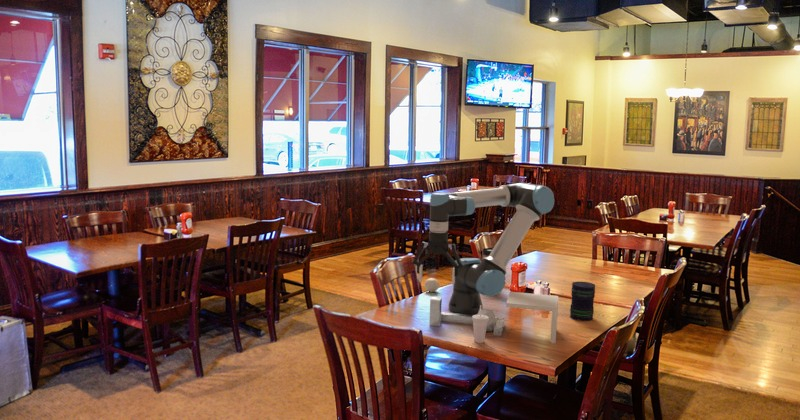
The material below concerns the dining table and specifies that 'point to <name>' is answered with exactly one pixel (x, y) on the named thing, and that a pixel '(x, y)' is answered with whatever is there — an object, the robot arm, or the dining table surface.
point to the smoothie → (479, 327)
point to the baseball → (431, 285)
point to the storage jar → (582, 301)
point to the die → (491, 316)
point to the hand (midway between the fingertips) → (436, 282)
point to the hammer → (456, 316)
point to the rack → (536, 306)
